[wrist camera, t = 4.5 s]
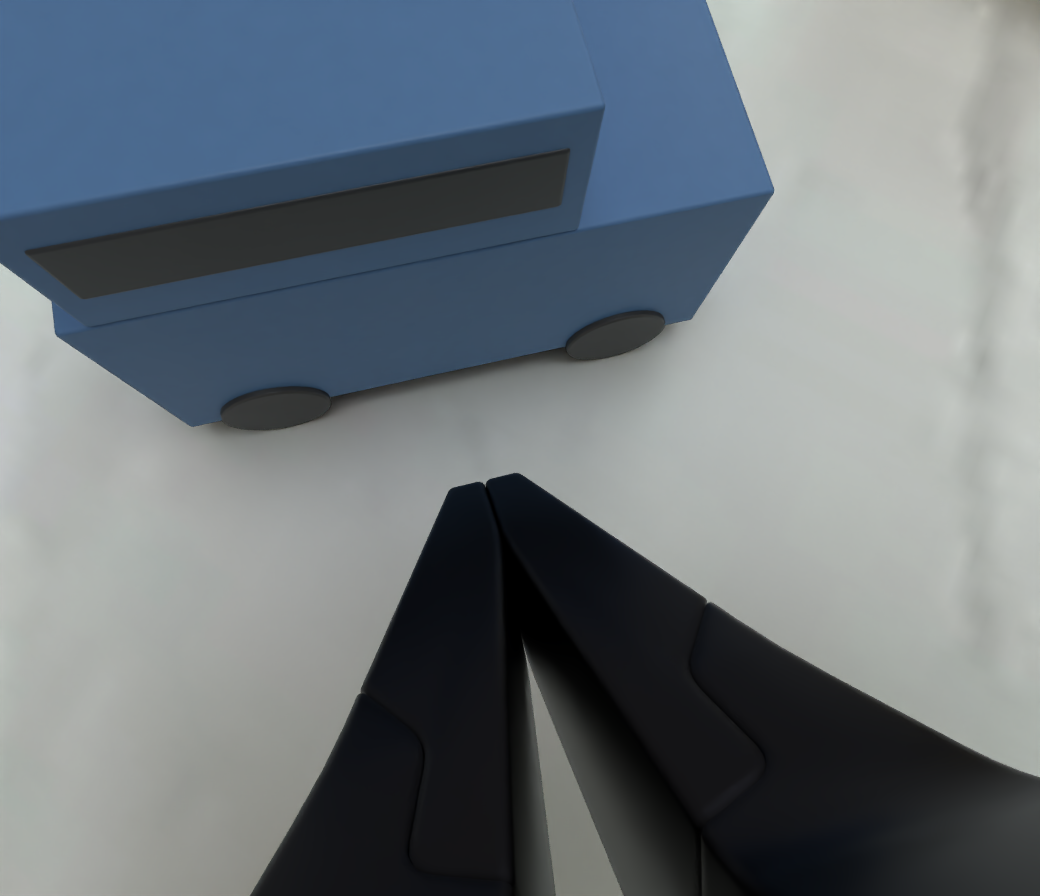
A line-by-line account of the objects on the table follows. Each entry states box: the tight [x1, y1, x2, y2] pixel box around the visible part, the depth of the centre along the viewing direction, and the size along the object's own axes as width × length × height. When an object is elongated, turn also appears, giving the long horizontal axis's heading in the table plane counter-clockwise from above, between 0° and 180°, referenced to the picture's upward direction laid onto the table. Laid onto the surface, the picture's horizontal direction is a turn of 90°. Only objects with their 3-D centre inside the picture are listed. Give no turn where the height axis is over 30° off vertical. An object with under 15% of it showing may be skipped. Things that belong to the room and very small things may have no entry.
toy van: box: [0, 0, 774, 430], centre depth 14 cm, size 6×12×9 cm, turn 104°
